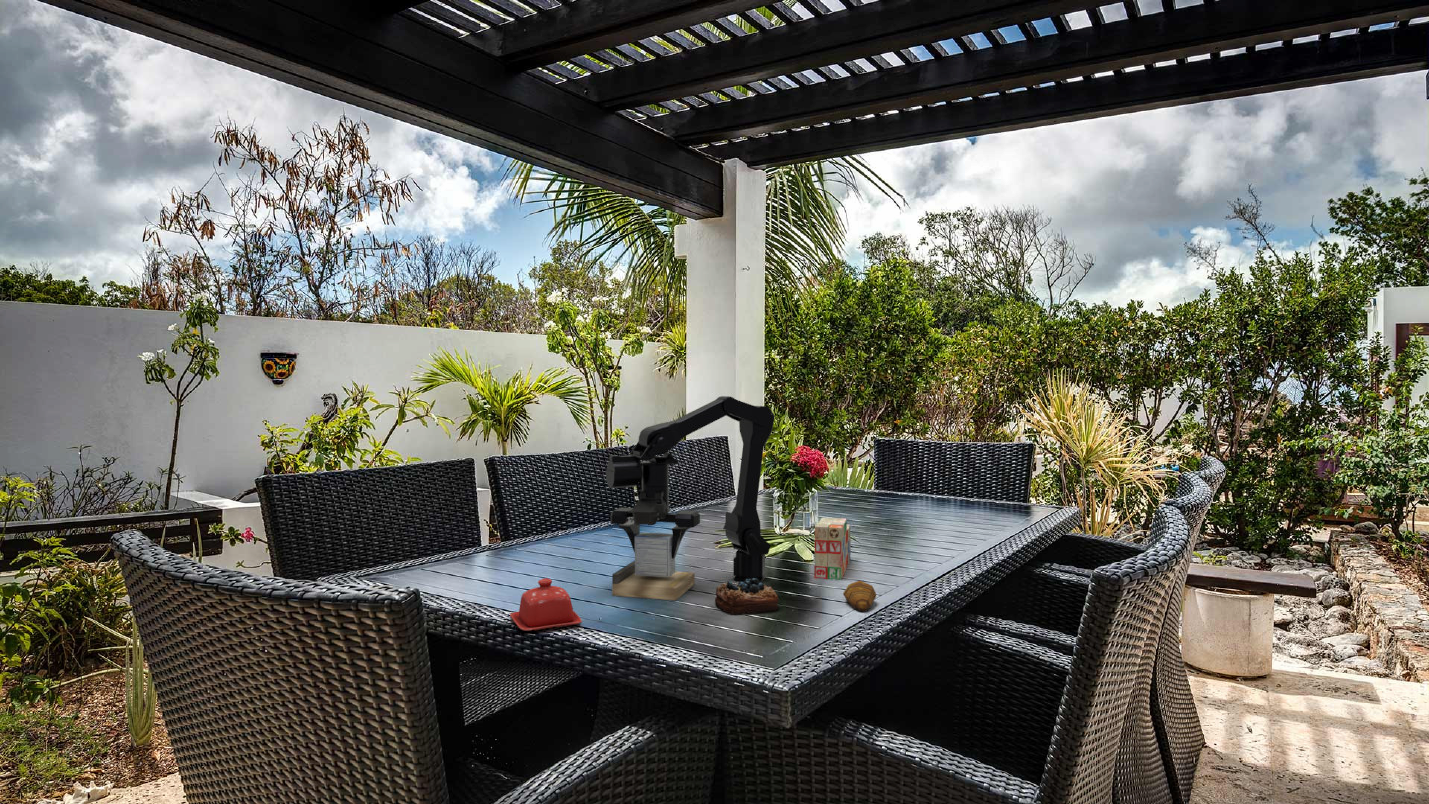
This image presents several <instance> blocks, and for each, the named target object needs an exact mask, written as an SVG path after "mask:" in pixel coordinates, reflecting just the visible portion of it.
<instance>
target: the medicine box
mask: <svg viewBox="0 0 1429 804" xmlns="http://www.w3.org/2000/svg"><path fill="white" fill-rule="evenodd" d="M672 541H673V533H664V532H663V533H661V532H645V531H644V532H642V531H641V532H640V534H638V535H637V536H635V553H634V561H635V575H641V576H656V577H670V576H671V575H673V574H674V573H675V571H676V557H675V558H674V559H672Z"/></svg>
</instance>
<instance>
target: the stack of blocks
mask: <svg viewBox="0 0 1429 804" xmlns="http://www.w3.org/2000/svg"><path fill="white" fill-rule="evenodd" d="M847 523H848V522H847V518H841V517H840V518H839V517H821V519H819V521H818V522H817V524H815V526H814V569H813V570H814V571H813V572H814V573H813V574H814V576H813V578H814V579H818V578H823V579H822V580H833V579H835V581H842V579H843V577H844V576H845V574H846V572H845V571H847V568H848V566H849V565H850V562H851V555H852V554H851V550H852V549H851V548H852V547H851V542H852V541H851V540H852V538H851V524H847ZM847 565H848V566H847ZM844 573H845V574H844ZM843 575H844V576H843ZM841 578H842V579H841Z"/></svg>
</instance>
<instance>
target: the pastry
mask: <svg viewBox="0 0 1429 804" xmlns="http://www.w3.org/2000/svg"><path fill="white" fill-rule="evenodd" d="M715 596H716V597H715V599H714V603H715V605H716V606H717V607H718V608H719V609H720V610H722V611H723V612H724V613H726V614H730V615H731V616H738V615H741V616H742V615H749V614H759V613H760V614H763V613H769V612H776V611H778V608H779V606H778V604H779V597H778V596H779V595H778V594H777V593H776V592H775V590H774V589H773V588H772V586H767V585H765V584H764V583H763V581H762V582H759V580H758V579H756V578H753V579H746V580H745V581H740V582H738V583H735V582H732V581H731V580H730V581H727V582H726V583H725V582H723V583H721V584H720V586H719V585H718V586H716V591H715Z"/></svg>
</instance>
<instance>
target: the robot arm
mask: <svg viewBox="0 0 1429 804" xmlns="http://www.w3.org/2000/svg"><path fill="white" fill-rule="evenodd" d="M724 417H728V418H730V419H731V420H734V421H736V422H738V423H739V425H738V427H739V434H740V437H741V441H742V451H741V461H740V469H739V474H738V475H739V477H738V484H737V493H736V502H735V505H734V507H733V509H732V511H731V512H730V511H726V512H725V517H724V519H725V522H724V526H723V527H722V528H723V530H725V536H726V538H727V539H728V541H729V542H731V546H732V548H733V550H736V551H735V557H734V558H733V559H732V561H733V563H732V564H733V569H732V570H733V572H732V573H733V576H734V577H733V581H740V582H745V580H746V579H753V578H756V579H758V580H759V582H762V583H763V581H764V580H765V579H766V577H767V576H768V575H767V573H766V555H768V554H769V552H770V550H771V544H770V543H769V542H768V541H767V540H766V539H765V538H764V537H763V536H762V535H761V532H762V531H761V519H760V516H759V513H758V498H759V489H760V480H761V475H762V474H761V473H762V466H763V465H762V464H763V457H764V455H763V454H764V448H765V445H766V443H767V442H768V440H769V439H770V437H771V434H772V431H773V428H774V425H775V414H774V412H773V410H771V408H770V407H767V406H764V405H754V404H753V405H752V404H750V403H747V402H745V401H742V400H739V399H735V397H733V396H725V395H723V396H722V395H721V396H718V397H717V398H716V399H715V400H713V401H710V402H708V403H706V404H705V405H702V406H700V407H698V408H696V409H695V410H693V411H690V412H688V413H686V414H684V415H682V416H680V417H678V418H676V419H674V420H671V421H666V422H661V423H657V424H653V425H649V426H646V427H645V428H643V429H642V430H641V431H640V433H639V435H638V440H637V441H638V442H637V443H636V444H635V446H634V447H633V448H632V449H631V451H630V453H629V455H616V454H612V455H609V461H608V463H607V465H606V469H605V480H606V484H607V486H608V488H610V489H611V488H612V489H614V488H617V489H618V488H629V487H637V486H638V484H639V483H641V490H640V492H639V499H638V501H636V503H635V505H634V507H618V508H617V509H614V510H612V511H611V514H610V517H609V518H610V523H609V524H611V525H618V528H619V529H622V530H623V531H624V532H625V533H626V534H627V538H628V539H629V542H630V544H631V545H630V546H632V547H631V548H632V550H633V553H634V554H635V536H637V535H638V534H640V533H641V532H640V525H647V526H654V525H656V524H657V522H658V523H674V525H675V526H674V527H673V528H671V531H672V534H673V541H672V559H674V558H675V559H676V557H677V553H678V551H679V548H680V545H681V543H682V540H683V538H684V536H685V534H686V532H687V531H688V530H690V529H692V528H695V527H697V526H698V525H700V524H701V515H700V513H699V511H697V510H686V509H685V510H684V509H682V510H680V511H678V512H677V513H670V511H671V508H670V507H671V506H670V507H669V494H670V492H671V491H670V488H669V465H677V464H678V463H679V461H678V460H677V459H676V458H675V457H674V456H673V455H672V453H671V452H669V451H671V450H672V449H674V448H675V447H676V446H677V445H678V444H679V443H681V441H682V440H683V439H684V438H686V437H687V436H689V435H690V434H692V433H695V432H696V431H698V430H700V429H703V428H704V427H707V426H708V425H710V424H713V423H714V422H716V421H718V420H720V419H723V418H724Z"/></svg>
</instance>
